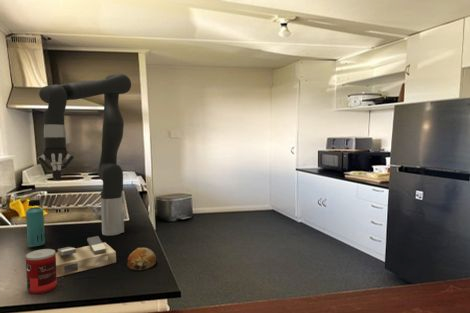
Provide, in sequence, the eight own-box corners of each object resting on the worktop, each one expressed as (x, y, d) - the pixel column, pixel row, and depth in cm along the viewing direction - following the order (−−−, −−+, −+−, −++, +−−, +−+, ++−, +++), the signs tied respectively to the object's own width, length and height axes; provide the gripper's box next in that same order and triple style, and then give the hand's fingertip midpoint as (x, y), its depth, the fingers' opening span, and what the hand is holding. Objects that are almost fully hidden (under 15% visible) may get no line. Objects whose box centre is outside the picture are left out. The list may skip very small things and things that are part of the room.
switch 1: (70, 252, 118) (70, 246, 118) (76, 255, 110) (75, 248, 110) (58, 254, 115) (57, 248, 115) (63, 257, 107) (62, 251, 108)
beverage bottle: (37, 250, 129) (34, 202, 128) (23, 249, 130) (20, 201, 129) (49, 245, 136) (47, 198, 134) (36, 244, 137) (33, 198, 135)
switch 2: (98, 240, 124) (98, 235, 124) (105, 253, 117) (106, 248, 116) (87, 242, 122) (87, 237, 121) (94, 256, 114) (94, 250, 114)
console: (105, 252, 128) (105, 242, 127) (116, 262, 117) (116, 252, 117) (48, 264, 115) (47, 254, 115) (54, 278, 105) (54, 266, 104)
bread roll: (158, 273, 117) (163, 250, 120) (143, 271, 108) (148, 247, 111) (135, 269, 120) (141, 247, 123) (119, 267, 111) (125, 244, 114)
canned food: (35, 282, 102) (33, 249, 101) (61, 281, 102) (60, 248, 102) (21, 294, 94) (19, 258, 93) (49, 293, 95) (48, 257, 94)
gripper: (71, 136, 133) (73, 177, 134) (34, 136, 125) (36, 180, 126) (75, 136, 127) (77, 179, 128) (36, 136, 119) (38, 182, 120)
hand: (56, 179), depth 127 cm, fingers closed
